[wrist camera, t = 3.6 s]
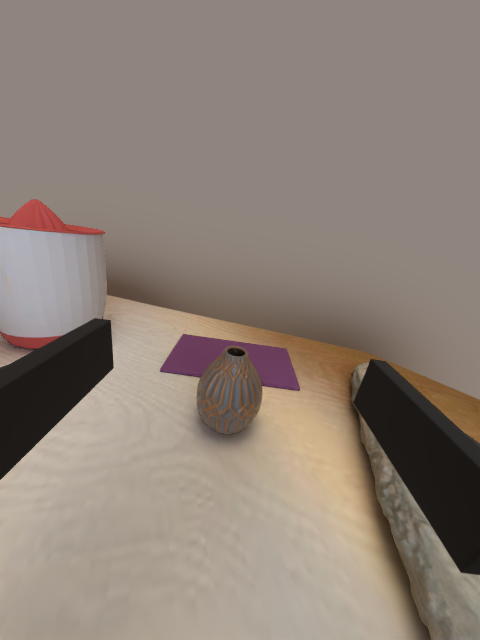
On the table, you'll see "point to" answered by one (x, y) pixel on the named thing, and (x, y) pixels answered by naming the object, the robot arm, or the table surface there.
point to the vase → (229, 391)
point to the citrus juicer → (48, 276)
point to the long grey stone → (422, 549)
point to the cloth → (201, 351)
